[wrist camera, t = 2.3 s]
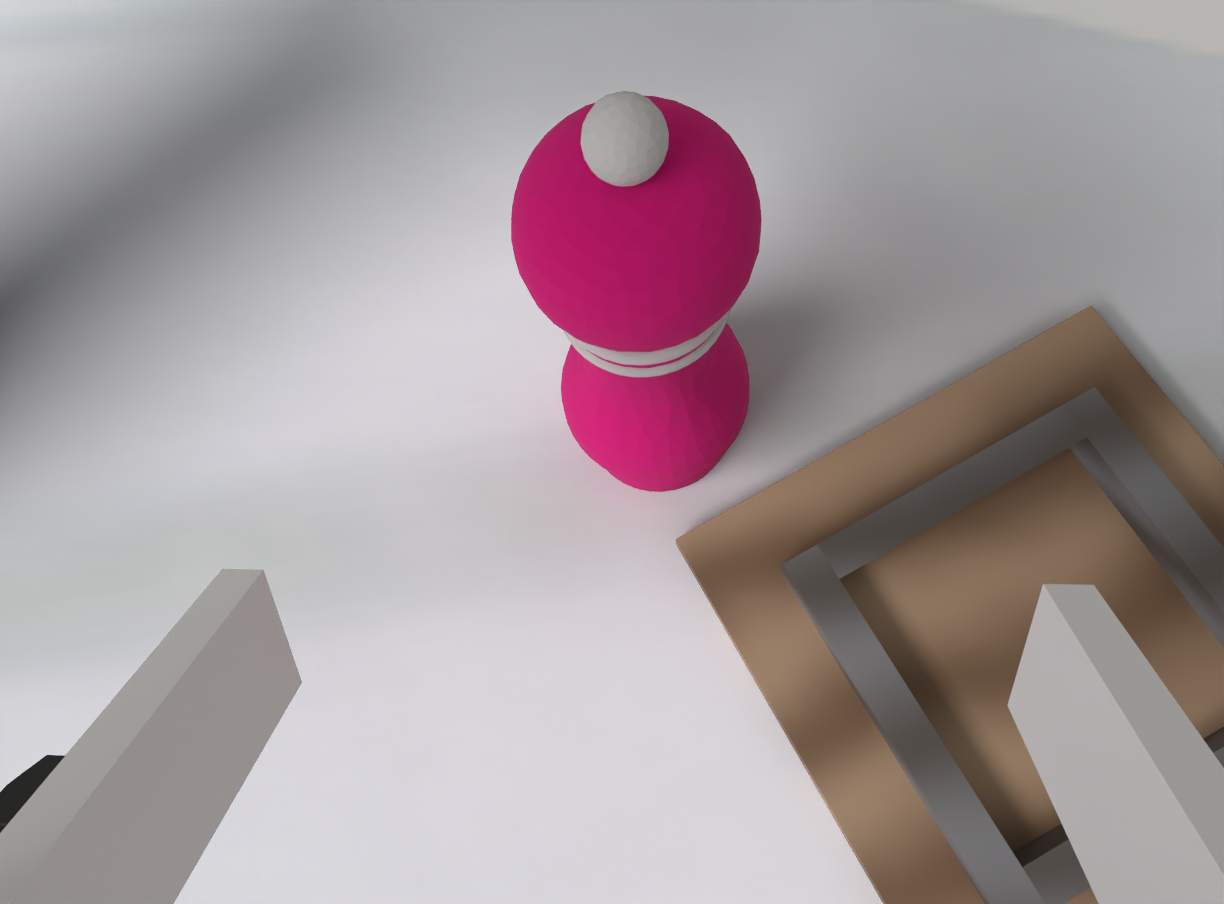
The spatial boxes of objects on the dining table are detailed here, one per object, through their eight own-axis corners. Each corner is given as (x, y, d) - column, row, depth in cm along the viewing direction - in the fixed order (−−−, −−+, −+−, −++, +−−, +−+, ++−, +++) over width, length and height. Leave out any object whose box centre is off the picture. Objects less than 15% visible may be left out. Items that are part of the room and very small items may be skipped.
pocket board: (676, 543, 32) (675, 534, 30) (1077, 318, 33) (1109, 289, 31) (961, 1040, 27) (990, 1079, 24) (1433, 752, 28) (1507, 762, 25)
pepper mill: (729, 516, 32) (791, 305, 13) (563, 490, 33) (395, 258, 14) (751, 358, 34) (834, -32, 15) (593, 337, 35) (480, -52, 16)
